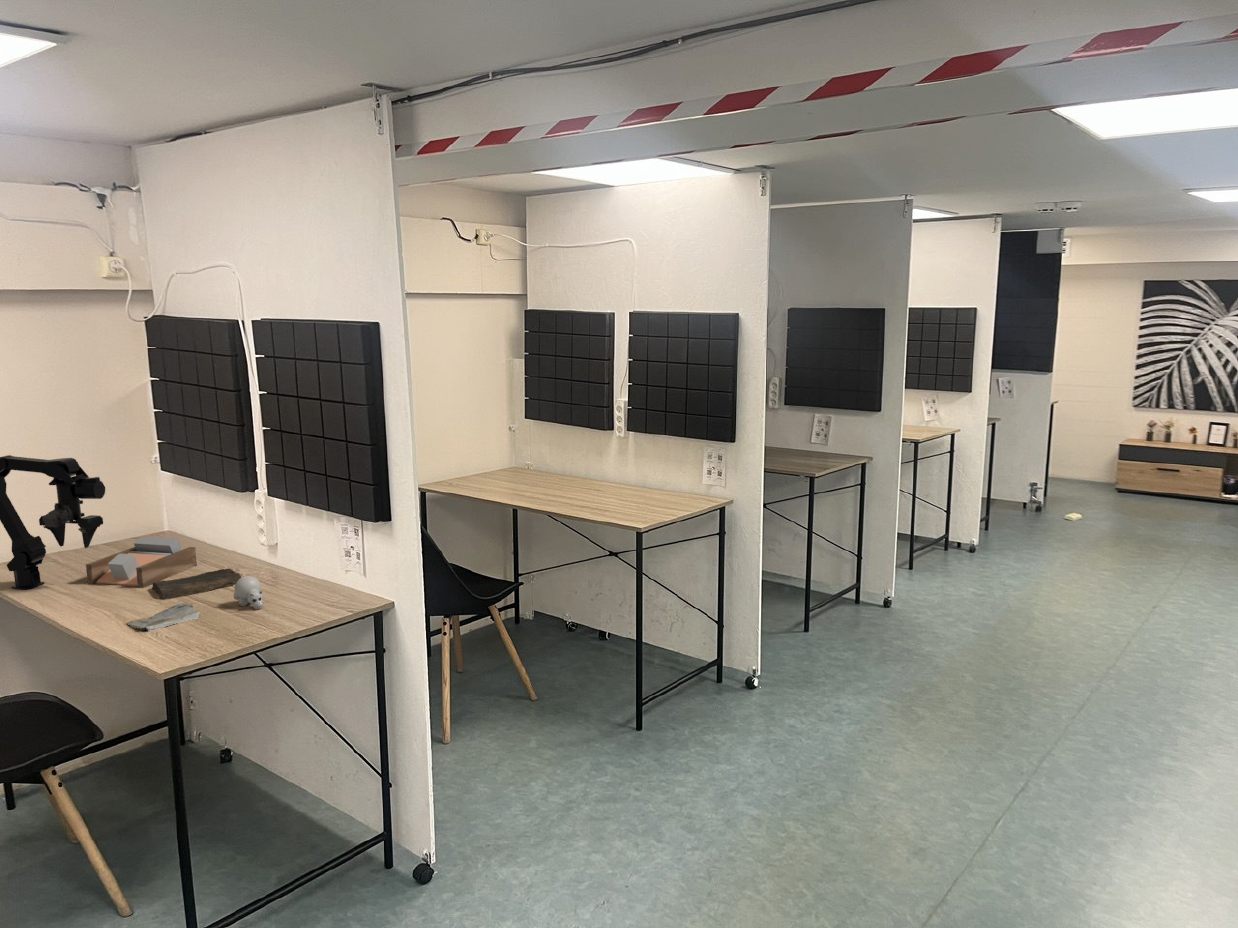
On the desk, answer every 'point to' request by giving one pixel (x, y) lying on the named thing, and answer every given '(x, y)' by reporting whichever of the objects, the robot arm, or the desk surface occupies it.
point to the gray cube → (123, 566)
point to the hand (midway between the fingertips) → (74, 546)
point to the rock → (196, 583)
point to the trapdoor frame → (147, 567)
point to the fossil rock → (166, 617)
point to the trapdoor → (145, 556)
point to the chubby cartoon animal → (249, 592)
